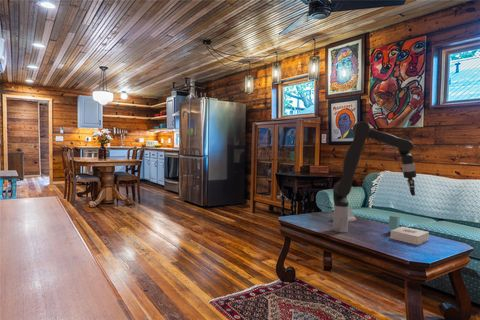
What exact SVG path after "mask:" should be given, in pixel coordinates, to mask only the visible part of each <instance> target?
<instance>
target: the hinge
mask: <svg viewBox="0 0 480 320" xmlns="http://www.w3.org/2000/svg"><path fill="white" fill-rule="evenodd" d="M356 220H357V218H356V217H355V215H354V212H353V209H351V208H348V222H353V221H356Z"/></svg>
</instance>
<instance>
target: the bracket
mask: <svg viewBox="0 0 480 320" xmlns="http://www.w3.org/2000/svg"><path fill="white" fill-rule="evenodd" d="M388 219H389V222H388V232H389V233H391V230H394V229H396V228H399V227H400V222H401V221H400V220H401V216H399V215H393V214H391V215H389V218H388Z"/></svg>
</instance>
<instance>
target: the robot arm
mask: <svg viewBox="0 0 480 320" xmlns="http://www.w3.org/2000/svg"><path fill="white" fill-rule="evenodd" d="M352 133H353V134H354V137H353V140H352V142H351V144H350V145H349V146H348V149H347V150H346V152H345V155H344V159H343V164H342V176H341V179H340V181H337V182H336V183H334V184H333V190H332V191H333V193H332V195H333V196H332V199H333V217H332V231H333V232H336V233H341V234H342V233H347V232H349V221H348V209H349V200H348V195H349V194H350V193H351V189H352V185H353V181H354V180H353V179H354V177H355V173H356V171H357V168H358V165H359V162H360V159H361V155H362V152H363V149H364V145H365V142H366V140H367V138H369V139H371V140H375V141H378V142H380V143H383V144H385V145H387V146H390V147H393V148H397V150H398V152H399V156H400V158H401V167H402V174H403V178H404V179H407V180H406V182H407V185H408V187H409V193H410V195H411V196H412V197H413V196H416V191H415V190H416V188H415V180H414V179H413V178H417V171H416V170H417V169H416V165H415V161H414V156H413V155H412V154H411V151H412V150H413V149H414V143H413V142H412V141H411V140H409V139H407V138H401V137H397V136H396V135H393V134H390V133H388V132H384V131H379V130H376V129H373V128H371V126H370V124H369V122H367V121H358V122H356V123H354V125H353V126H352Z"/></svg>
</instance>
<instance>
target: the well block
mask: <svg viewBox="0 0 480 320" xmlns="http://www.w3.org/2000/svg"><path fill="white" fill-rule="evenodd" d="M429 234H430V232H429V231H426V230H421V229H416V228H410V227H406V226H399V228H396V229H394V230H391V232H390V239H391V240H395V241H400V242H405V243H408V244H413V245H417V246H419V245H421V244H423V243H425V242H427V241H429Z"/></svg>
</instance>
